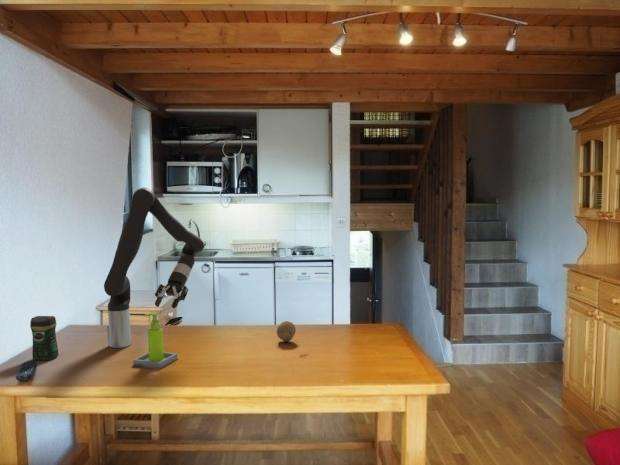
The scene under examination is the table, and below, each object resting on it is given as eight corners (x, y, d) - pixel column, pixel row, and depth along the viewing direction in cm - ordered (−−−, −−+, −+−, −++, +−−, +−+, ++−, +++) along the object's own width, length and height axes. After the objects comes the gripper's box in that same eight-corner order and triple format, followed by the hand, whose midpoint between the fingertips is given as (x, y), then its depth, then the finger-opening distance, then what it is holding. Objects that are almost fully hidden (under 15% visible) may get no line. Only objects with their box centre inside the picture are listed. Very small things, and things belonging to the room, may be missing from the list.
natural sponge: (293, 345, 221) (292, 324, 220) (274, 344, 222) (274, 323, 221) (297, 339, 229) (297, 319, 228) (279, 338, 231) (279, 318, 230)
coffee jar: (61, 355, 212) (59, 313, 210) (50, 361, 204) (47, 318, 202) (41, 354, 213) (38, 313, 211) (29, 361, 205) (26, 318, 203)
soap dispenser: (148, 357, 205) (146, 311, 203) (165, 357, 205) (163, 311, 204) (144, 362, 199) (142, 315, 197) (162, 362, 200) (160, 314, 198)
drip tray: (133, 365, 199) (133, 359, 198) (152, 355, 210) (152, 350, 210) (159, 369, 194) (159, 363, 194) (177, 359, 205) (177, 353, 205)
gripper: (162, 270, 216) (146, 300, 207) (189, 271, 211) (174, 303, 202) (170, 279, 222) (155, 310, 212) (196, 281, 217) (182, 312, 207)
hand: (164, 306), depth 207 cm, fingers open, 8 cm apart
